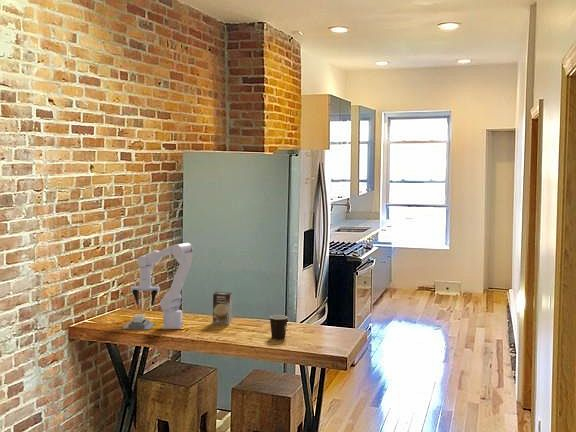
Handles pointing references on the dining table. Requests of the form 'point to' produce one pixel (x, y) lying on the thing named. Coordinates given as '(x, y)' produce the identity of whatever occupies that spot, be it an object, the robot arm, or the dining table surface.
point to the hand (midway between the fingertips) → (145, 304)
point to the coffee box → (222, 308)
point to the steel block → (139, 319)
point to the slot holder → (139, 325)
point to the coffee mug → (278, 326)
